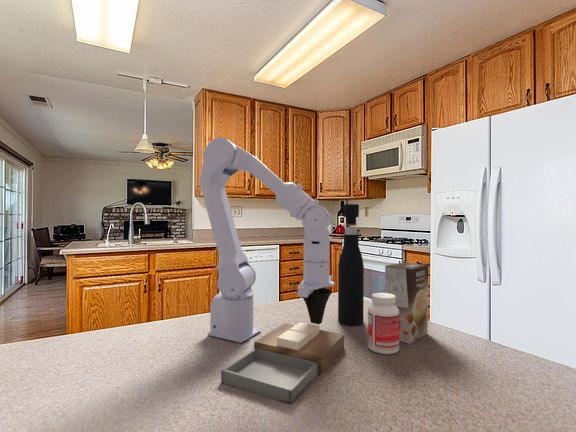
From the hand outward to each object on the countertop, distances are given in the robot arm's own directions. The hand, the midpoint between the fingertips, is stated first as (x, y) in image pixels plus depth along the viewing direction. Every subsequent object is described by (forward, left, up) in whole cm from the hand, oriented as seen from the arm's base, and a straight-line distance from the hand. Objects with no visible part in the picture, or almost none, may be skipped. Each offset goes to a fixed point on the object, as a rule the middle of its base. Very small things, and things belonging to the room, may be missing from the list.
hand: (316, 322), depth 72 cm
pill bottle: (+14, +2, -4) cm, 15 cm away
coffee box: (+17, +12, -4) cm, 21 cm away
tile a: (0, -6, -1) cm, 6 cm away
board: (0, -8, -4) cm, 9 cm away
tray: (0, -19, -4) cm, 19 cm away
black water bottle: (+3, +15, -4) cm, 16 cm away
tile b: (0, -11, -1) cm, 11 cm away
